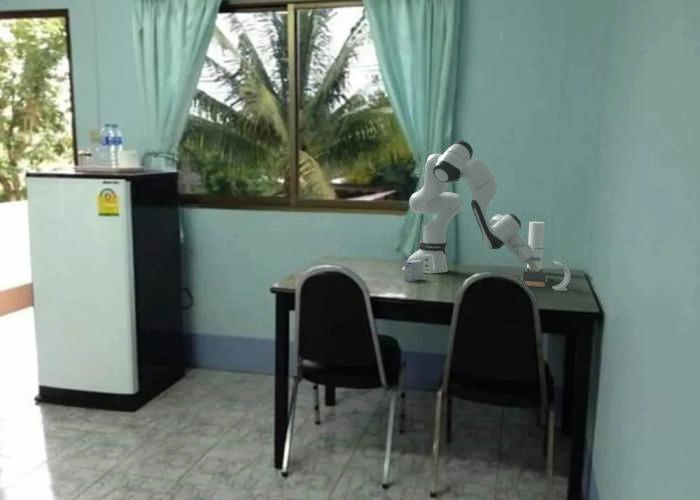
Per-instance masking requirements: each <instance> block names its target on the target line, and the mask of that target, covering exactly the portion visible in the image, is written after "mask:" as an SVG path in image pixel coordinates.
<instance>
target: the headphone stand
mask: <svg viewBox="0 0 700 500" xmlns="http://www.w3.org/2000/svg"><path fill="white" fill-rule="evenodd" d="M553 264H556V265H558V266H560V267H562V269H563V271H564V277H563V278H562V281H561V282H560V283H559V284H557V285H553V286H551V289H553V290H554V291H568V288H567V286H568V284H569V282H570V281H571V271H570V268H569V267H568V266H567V265H565V264H564V263H562V262H560V261H558V260H557V261H556V260H553Z"/></svg>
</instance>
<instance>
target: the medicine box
mask: <svg viewBox="0 0 700 500" xmlns="http://www.w3.org/2000/svg"><path fill="white" fill-rule="evenodd" d="M404 266H405V271H404V274H403V275H404V279H403V280H404V281H408V282H415V281H420V280H423V273H422V272H423V261H419V260H412V261H408V260H406V261H404Z"/></svg>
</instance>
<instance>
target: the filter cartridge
mask: <svg viewBox="0 0 700 500" xmlns="http://www.w3.org/2000/svg"><path fill="white" fill-rule="evenodd" d="M530 259H531V261H532V262H533V263H535V265H536V267H535V268H532V267H531V266H530V265H529V271H537V272H540V267H541V257H531V258H530Z"/></svg>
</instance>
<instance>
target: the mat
mask: <svg viewBox="0 0 700 500" xmlns="http://www.w3.org/2000/svg"><path fill="white" fill-rule="evenodd" d="M524 282H525V283H526V284H527V285H528V286H527V287H536V288H537V287H538V288H545V287H546V285H545V284H546V283H545V282H532V281H523V283H524Z"/></svg>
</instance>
